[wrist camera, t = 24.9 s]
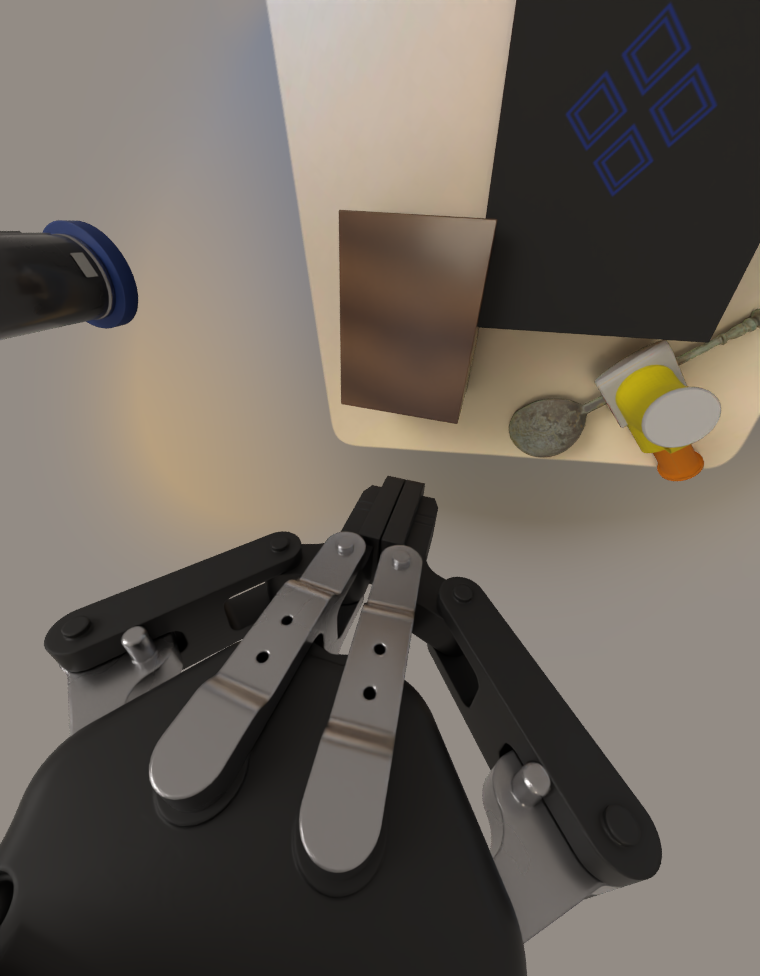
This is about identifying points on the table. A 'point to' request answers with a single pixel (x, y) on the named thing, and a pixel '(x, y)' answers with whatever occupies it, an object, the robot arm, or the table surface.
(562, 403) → the soupspoon
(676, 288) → the book
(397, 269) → the lid
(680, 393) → the toy
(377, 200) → the table surface
